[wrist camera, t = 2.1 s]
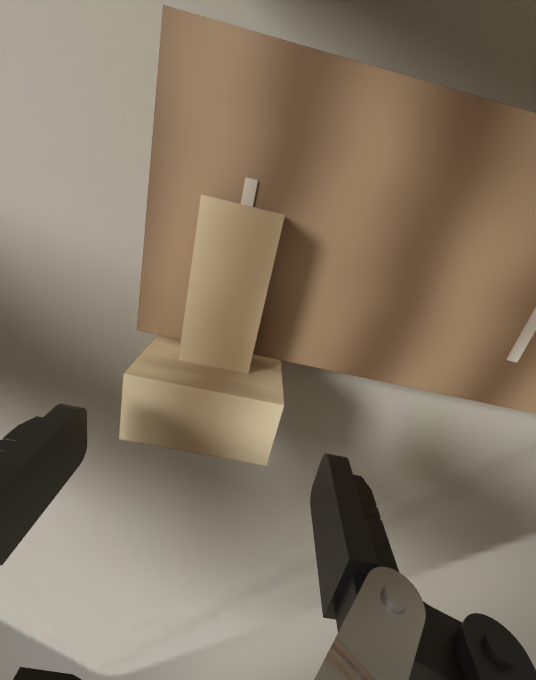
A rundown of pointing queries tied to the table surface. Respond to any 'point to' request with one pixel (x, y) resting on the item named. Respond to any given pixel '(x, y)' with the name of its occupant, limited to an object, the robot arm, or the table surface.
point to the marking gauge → (214, 348)
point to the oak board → (351, 210)
